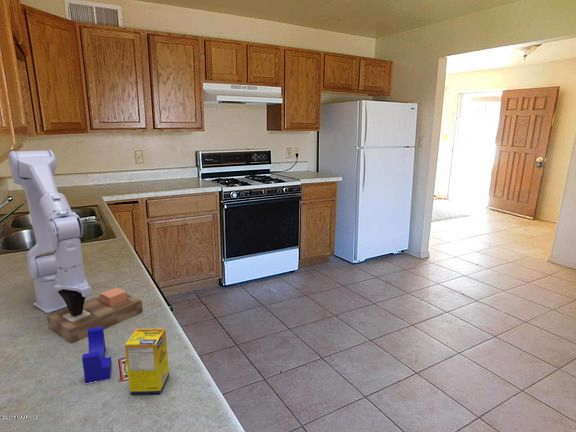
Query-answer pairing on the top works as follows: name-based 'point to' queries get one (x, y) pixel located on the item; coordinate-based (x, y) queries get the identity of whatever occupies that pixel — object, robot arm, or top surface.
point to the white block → (72, 319)
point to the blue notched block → (96, 357)
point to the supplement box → (147, 361)
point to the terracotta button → (113, 297)
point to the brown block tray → (93, 317)
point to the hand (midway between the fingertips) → (76, 315)
